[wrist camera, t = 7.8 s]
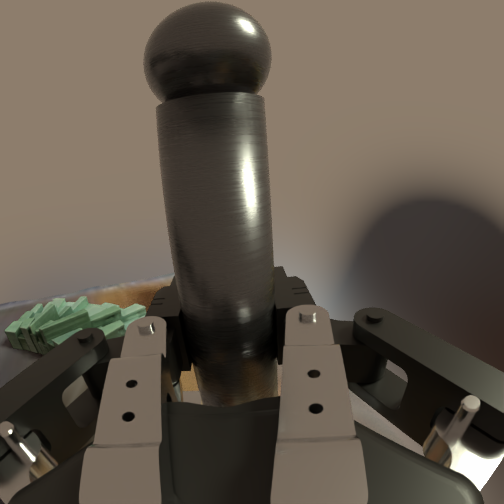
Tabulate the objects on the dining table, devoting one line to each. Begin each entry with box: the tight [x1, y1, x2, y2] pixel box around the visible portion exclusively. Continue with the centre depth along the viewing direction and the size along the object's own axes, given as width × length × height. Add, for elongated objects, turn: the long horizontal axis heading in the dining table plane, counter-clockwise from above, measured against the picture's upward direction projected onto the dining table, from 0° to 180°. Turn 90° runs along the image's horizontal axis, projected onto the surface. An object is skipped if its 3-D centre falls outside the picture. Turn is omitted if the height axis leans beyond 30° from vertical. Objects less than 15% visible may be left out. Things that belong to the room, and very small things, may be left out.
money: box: [5, 297, 146, 355], centre depth 32 cm, size 20×16×5 cm
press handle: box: [143, 2, 278, 408], centre depth 10 cm, size 6×5×21 cm
